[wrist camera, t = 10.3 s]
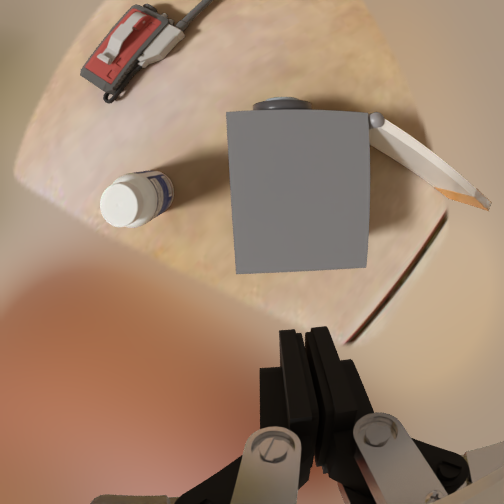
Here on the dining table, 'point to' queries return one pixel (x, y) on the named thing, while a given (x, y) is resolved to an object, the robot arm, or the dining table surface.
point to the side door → (422, 162)
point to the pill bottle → (136, 198)
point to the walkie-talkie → (134, 46)
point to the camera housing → (298, 187)
